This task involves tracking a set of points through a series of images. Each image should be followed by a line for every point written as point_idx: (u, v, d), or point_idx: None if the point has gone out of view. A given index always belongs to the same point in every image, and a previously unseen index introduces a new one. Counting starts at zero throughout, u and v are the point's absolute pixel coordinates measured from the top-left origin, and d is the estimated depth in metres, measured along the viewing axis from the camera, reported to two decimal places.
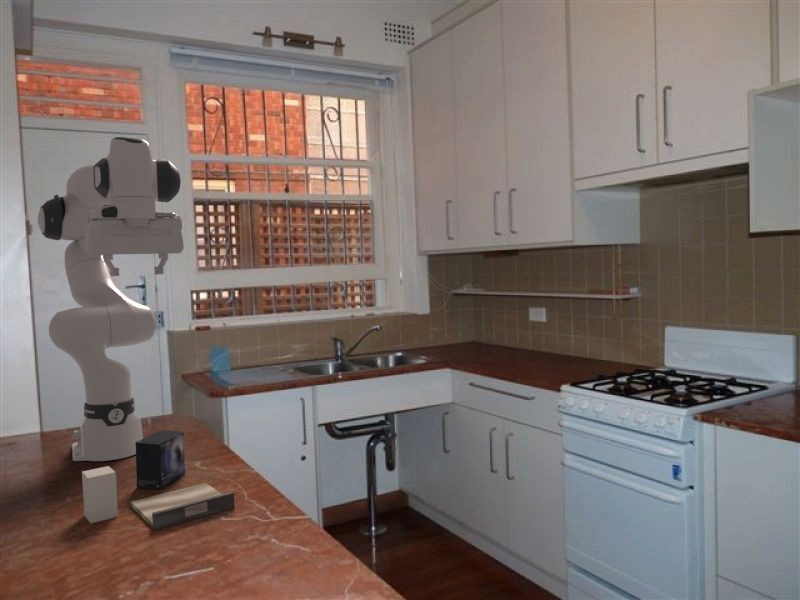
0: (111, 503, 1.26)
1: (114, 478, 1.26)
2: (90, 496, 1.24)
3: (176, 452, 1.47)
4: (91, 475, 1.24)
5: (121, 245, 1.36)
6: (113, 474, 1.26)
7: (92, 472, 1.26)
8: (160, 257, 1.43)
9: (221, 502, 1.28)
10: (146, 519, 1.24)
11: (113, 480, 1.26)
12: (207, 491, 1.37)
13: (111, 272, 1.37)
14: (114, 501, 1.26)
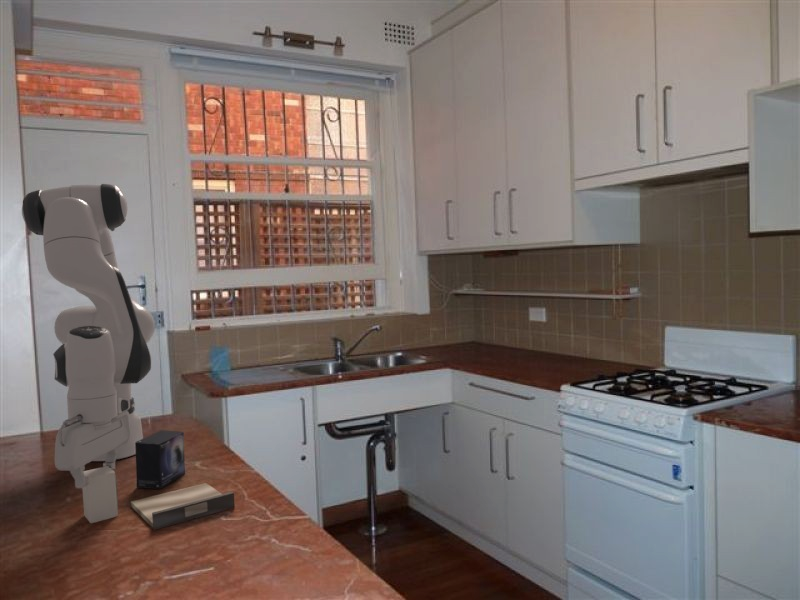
0: (110, 503, 1.26)
1: (114, 478, 1.26)
2: (90, 496, 1.24)
3: (175, 452, 1.47)
4: (91, 476, 1.24)
5: None
6: (113, 474, 1.26)
7: (92, 472, 1.26)
8: None
9: (221, 502, 1.28)
10: (146, 519, 1.24)
11: (112, 480, 1.26)
12: (207, 491, 1.37)
13: None
14: (114, 501, 1.26)
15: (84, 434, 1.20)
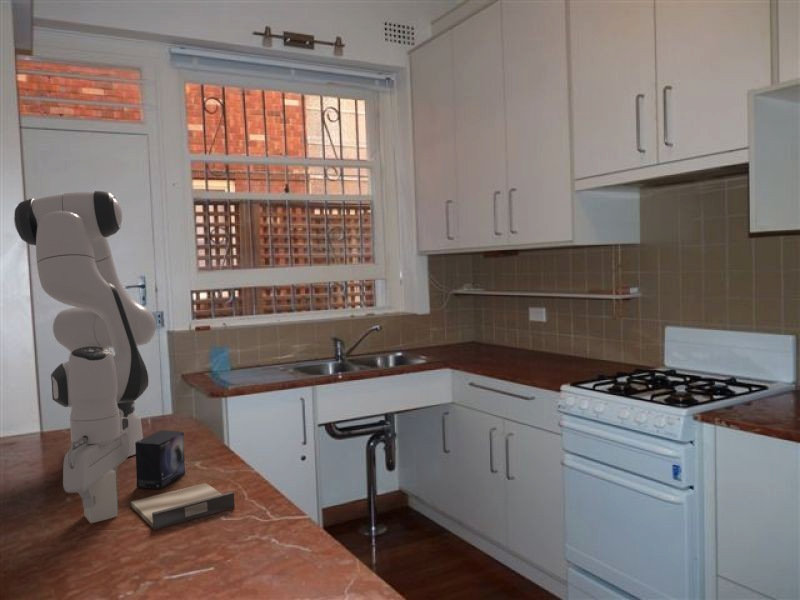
0: (111, 503, 1.26)
1: (114, 478, 1.26)
2: None
3: (176, 452, 1.47)
4: None
5: None
6: (113, 474, 1.26)
7: None
8: None
9: (221, 502, 1.28)
10: (146, 519, 1.24)
11: (113, 480, 1.26)
12: (207, 491, 1.37)
13: None
14: (114, 501, 1.26)
15: (91, 455, 1.20)
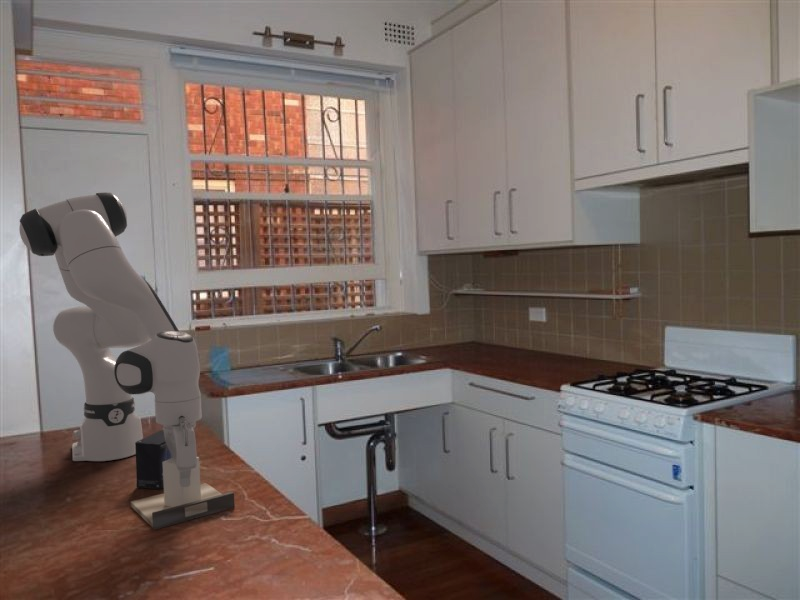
0: (196, 487, 1.31)
1: (198, 463, 1.31)
2: None
3: None
4: None
5: (168, 444, 1.32)
6: (197, 459, 1.31)
7: None
8: None
9: (221, 502, 1.28)
10: (146, 519, 1.24)
11: (197, 465, 1.31)
12: (207, 491, 1.37)
13: None
14: (198, 485, 1.31)
15: None
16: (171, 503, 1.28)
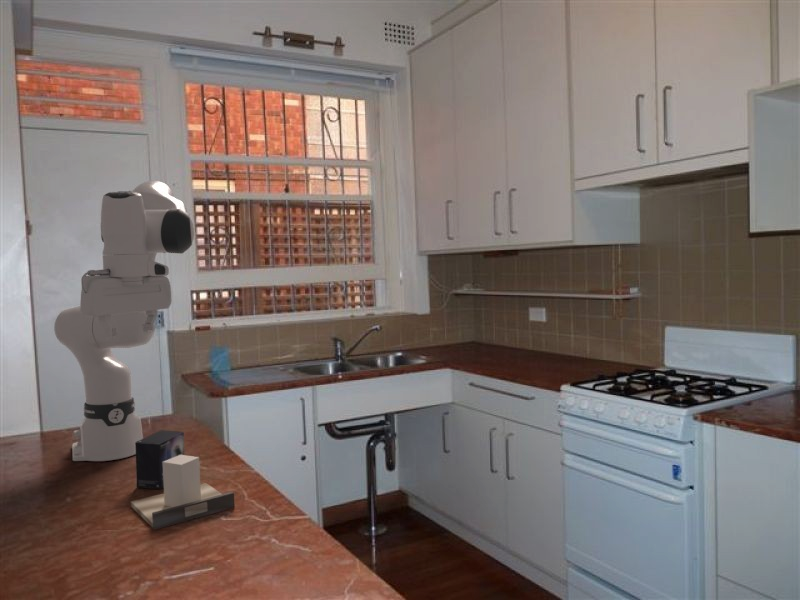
0: (196, 487, 1.31)
1: (198, 463, 1.31)
2: (183, 482, 1.27)
3: (176, 452, 1.47)
4: (181, 463, 1.28)
5: None
6: (197, 459, 1.31)
7: (176, 460, 1.29)
8: None
9: (221, 502, 1.28)
10: (146, 519, 1.24)
11: (197, 465, 1.31)
12: (207, 491, 1.37)
13: None
14: (198, 485, 1.31)
15: (108, 286, 1.28)
16: (171, 503, 1.28)
